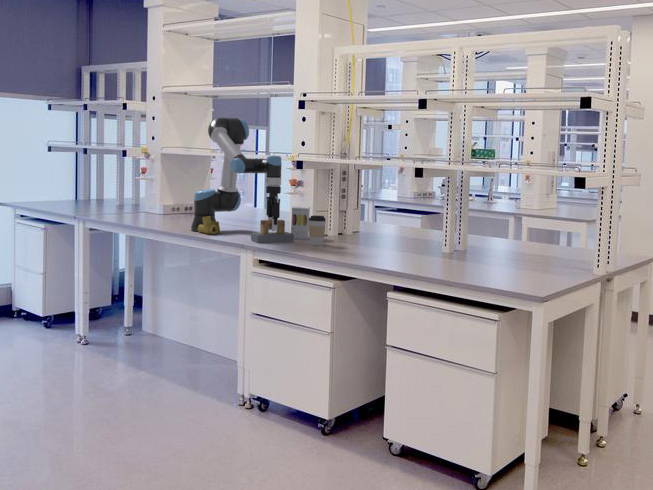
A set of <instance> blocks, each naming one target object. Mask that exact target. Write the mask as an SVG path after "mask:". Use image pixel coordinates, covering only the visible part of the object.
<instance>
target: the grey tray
mask: <svg viewBox="0 0 653 490" xmlns="http://www.w3.org/2000/svg"><path fill="white" fill-rule="evenodd" d="M251 240H252V241H251ZM250 241H251V242H254V243H257V244H267V243H268V244H269V243H270V244H273V243H274V244H275V243H294V241H295V238H294V234H291V232H288V231H285V234H276V231H271V232H269V234H267V235H262V234H260V232H251V233H250Z"/></svg>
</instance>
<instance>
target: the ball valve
mask: <svg viewBox="0 0 653 490" xmlns="http://www.w3.org/2000/svg"><path fill="white" fill-rule="evenodd" d="M202 219H203V225H199V226H198V231H199V233H203V234H206V235H210V234H211V235H214V234H215V235H216V234H220V233H221V226H220V221H217V220H216V222H214V221H211V217H210V216H207V217H203V218H202Z"/></svg>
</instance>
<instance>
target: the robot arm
mask: <svg viewBox="0 0 653 490" xmlns="http://www.w3.org/2000/svg"><path fill="white" fill-rule="evenodd" d="M207 134H208V136H209V138H210V140H211V141H212V142H213V143H216V145H218V147H219V148H220V150H221V151H222V152H223V153H224V155H223V163H222V171H221V180H220V185H219V186H218V187H217V191H216V189H214V188H207V189H205V188H204V189H199V190H196V191H195V192H194V197H193V201H194V205H193V211H194V212H193V213H194V215H193V216H194V217H193V220H192V223H191V226H190V231H193V232H199V231H198V226H199V225H203V219H202V218H203V217H207V216H210V217H211V221H214V222H217V220H216V212H217V213H219V212H220V213H221V212H226V213H227V212H228V213H229V212H235V211H237V210H238V209H239V208H240V206H241V204H242V203H241V202H242V198H241V192H239V189H238V188H237V180H238V178H237V177H238V174H266V179H265V182H266V187H265V189H266V191H265V193H267V194H268V196H266V214H265V215H266V216H267V220H272V227H269V231H271V232H276V231H277V225H278V220H279V218H280V217H281V216H280V215H281V214H280V213H281V212H280V210H281V209H280V208H281V207H280V206H281V205H280V204H281V198H279V195H278V194H281V193H282V187H281V185H282V165H283V164H282V157H281V155H268V156H267V157H266V158H247V157H246V156H245V155H244V154H243V152H242V151H241V146H243V145H244V143H245V142H244V141H246V140H247V139H248V138H249V136H250V128H249V125H248V122H247V121H246V120H245V119H243V118H238V117H236V118H235V117H216V118H215V119H213V120H212V121H211V122H210V123H209V125H208V129H207ZM199 233H200V232H199Z"/></svg>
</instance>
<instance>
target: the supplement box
mask: <svg viewBox="0 0 653 490" xmlns="http://www.w3.org/2000/svg"><path fill="white" fill-rule="evenodd" d="M310 209H311V207H310V206H292V207H291V219H290V220H291V222H290V233H291V234H294V240H295V239H297V240H298V239H299V240H301V239H302V240H308V239H309V238H310V236H309V218H310V212H311V211H310Z"/></svg>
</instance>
